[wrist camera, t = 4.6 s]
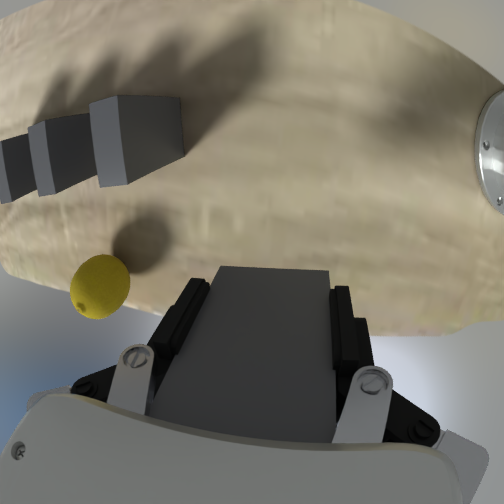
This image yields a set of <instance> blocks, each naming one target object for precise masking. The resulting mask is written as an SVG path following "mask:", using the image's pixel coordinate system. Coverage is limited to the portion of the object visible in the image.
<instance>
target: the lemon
mask: <svg viewBox="0 0 504 504" xmlns="http://www.w3.org/2000/svg"><path fill="white" fill-rule="evenodd" d="M129 289H130V276H129V272H128V270H127V268H126V266H125V265H124V264H123V263H122V262H121V261H120V260H119V259H118V258H116V257H114V256H111V255H105V254H102V255H97V256H94V257H92V258H90V259H89V260H87V261H86V262H84V263H83V264H82V265H81V266H80V267H79V269H78V270H77V272H76V273H75V275H74V277H73V279H72V281H71V286H70V296H71V300H72V303H73V305H74V306H75V308H76V310H77V311H78V312H79V313H81V314H82V315H84V316H85V317H88V318H91V319H101V318H105V317H107V316H109V315H111V314H112V313H114V312H115V311H116V310H117V309H119V307H120V306H121V305H122V304H123V302H124V301H125V299H126V298H127V296H128V293H129Z"/></svg>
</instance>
